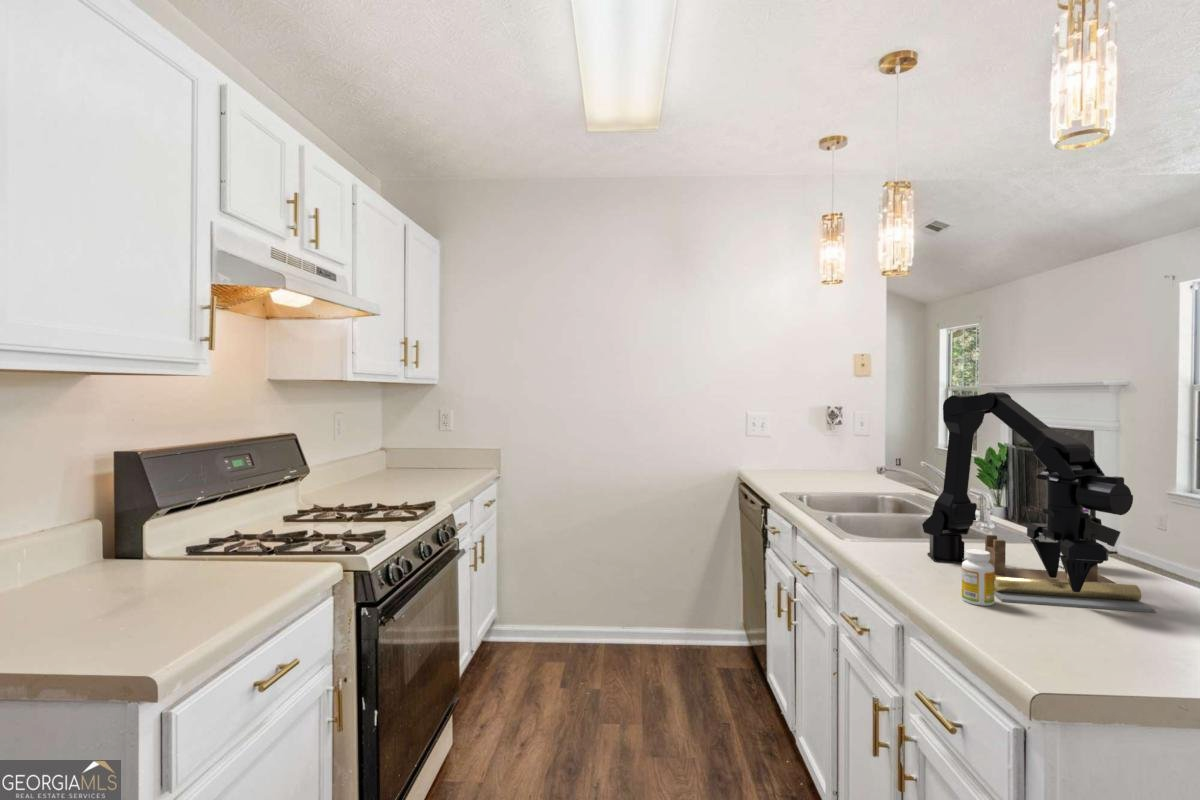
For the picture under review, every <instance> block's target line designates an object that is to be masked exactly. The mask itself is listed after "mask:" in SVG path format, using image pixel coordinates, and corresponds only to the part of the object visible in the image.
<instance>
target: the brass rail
mask: <svg viewBox="0 0 1200 800" xmlns="http://www.w3.org/2000/svg"><path fill="white" fill-rule="evenodd" d="M1115 583H1116V582H1115ZM1115 583H1099V582H1084V584H1083V586H1082V588H1081V591H1080V592H1073V591H1072V589H1071V586H1070V584H1069V581H1067V580H1051V579H1035V578H1019V577H1003V576H994V590H995V591H996V592H1011V593H1025V594H1040V595H1055V596H1070V597H1084V598H1099V599H1114V600H1128V601H1140V602H1141V599H1142V591H1141V588H1140V586H1138V585H1137V584H1131V583H1130V584H1129V583H1128V584H1127V583H1116V584H1115Z"/></svg>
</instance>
